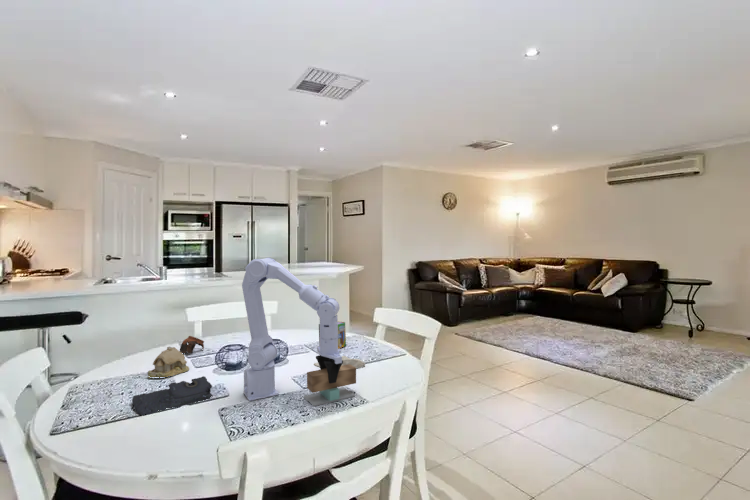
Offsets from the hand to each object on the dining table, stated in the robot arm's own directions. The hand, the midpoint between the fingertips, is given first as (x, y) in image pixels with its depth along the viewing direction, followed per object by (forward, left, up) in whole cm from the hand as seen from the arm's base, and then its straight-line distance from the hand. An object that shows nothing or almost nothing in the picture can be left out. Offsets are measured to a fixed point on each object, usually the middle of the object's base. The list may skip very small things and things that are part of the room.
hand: (329, 380), depth 123 cm
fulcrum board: (0, 0, -5) cm, 5 cm away
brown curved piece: (-32, +78, -6) cm, 84 cm away
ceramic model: (-42, +53, -6) cm, 68 cm away
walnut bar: (+1, 0, -2) cm, 2 cm away
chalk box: (+25, +51, -6) cm, 57 cm away
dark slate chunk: (-42, +25, -6) cm, 50 cm away
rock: (+14, +25, -6) cm, 29 cm away
